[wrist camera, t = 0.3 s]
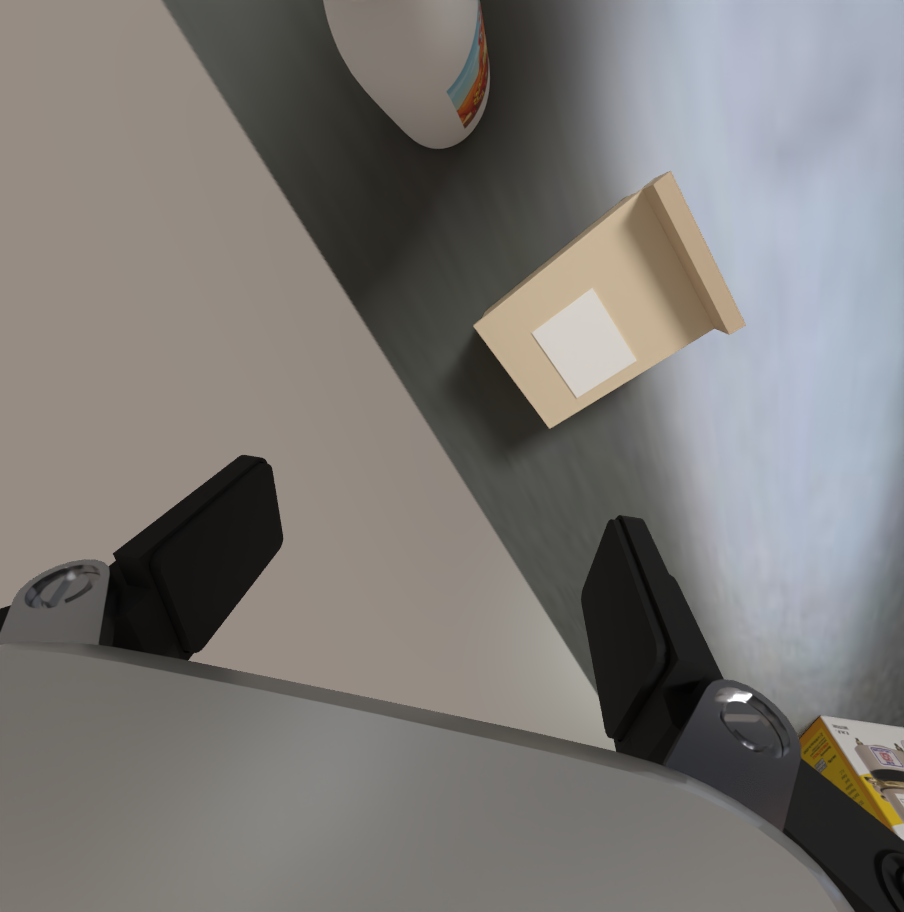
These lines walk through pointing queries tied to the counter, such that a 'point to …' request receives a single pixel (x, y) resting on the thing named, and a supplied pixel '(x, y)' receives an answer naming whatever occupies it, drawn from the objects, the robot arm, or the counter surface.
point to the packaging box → (861, 764)
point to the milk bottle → (417, 62)
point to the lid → (611, 305)
